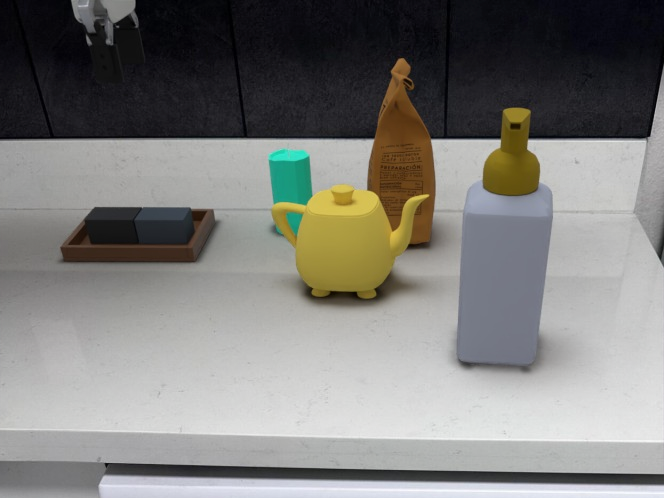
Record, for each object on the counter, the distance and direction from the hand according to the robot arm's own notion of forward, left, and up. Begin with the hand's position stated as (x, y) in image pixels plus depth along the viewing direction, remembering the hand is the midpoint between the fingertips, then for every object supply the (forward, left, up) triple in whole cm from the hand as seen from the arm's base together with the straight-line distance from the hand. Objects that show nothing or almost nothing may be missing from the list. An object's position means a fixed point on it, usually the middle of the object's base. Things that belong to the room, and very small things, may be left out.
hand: (122, 72), depth 100 cm
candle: (+19, +7, -22) cm, 30 cm away
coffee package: (+35, +5, -22) cm, 42 cm away
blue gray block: (+1, +2, -22) cm, 22 cm away
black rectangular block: (-6, +2, -22) cm, 23 cm away
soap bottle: (+47, -29, -22) cm, 60 cm away
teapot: (+29, -12, -22) cm, 39 cm away
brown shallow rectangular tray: (-3, +2, -22) cm, 23 cm away
